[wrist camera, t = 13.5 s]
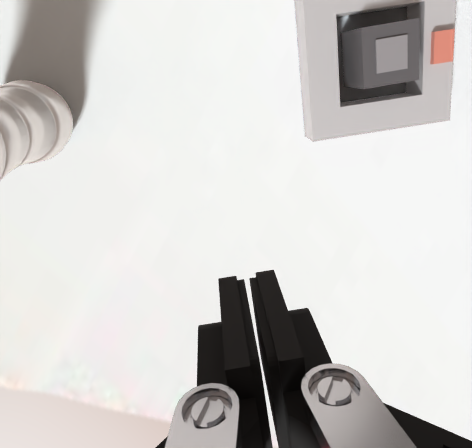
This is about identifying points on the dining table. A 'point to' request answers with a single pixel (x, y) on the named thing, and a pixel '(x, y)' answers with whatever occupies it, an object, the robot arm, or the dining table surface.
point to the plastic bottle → (31, 124)
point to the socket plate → (378, 108)
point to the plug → (381, 54)
